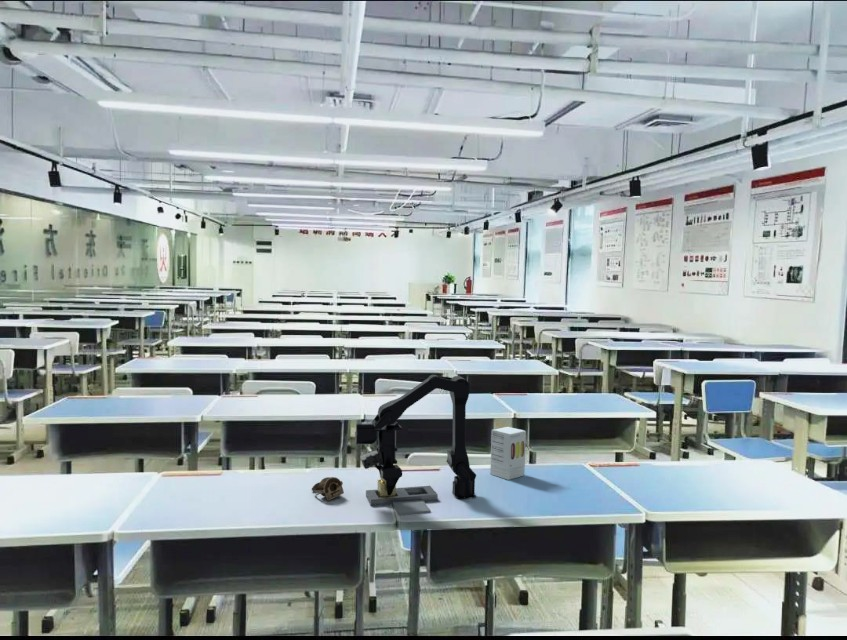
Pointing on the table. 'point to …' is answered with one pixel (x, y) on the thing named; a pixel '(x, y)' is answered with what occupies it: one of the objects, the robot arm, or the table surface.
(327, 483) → the brown piece
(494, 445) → the supplement box
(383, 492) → the brass cube with knob
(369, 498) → the rectangular frame with openings
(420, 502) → the mat
